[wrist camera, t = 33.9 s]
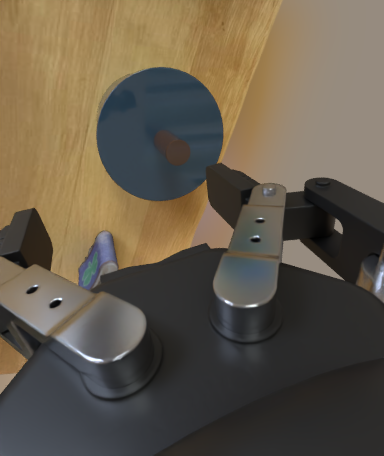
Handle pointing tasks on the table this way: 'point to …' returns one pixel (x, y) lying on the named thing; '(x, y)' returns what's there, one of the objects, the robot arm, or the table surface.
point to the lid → (159, 133)
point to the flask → (98, 261)
